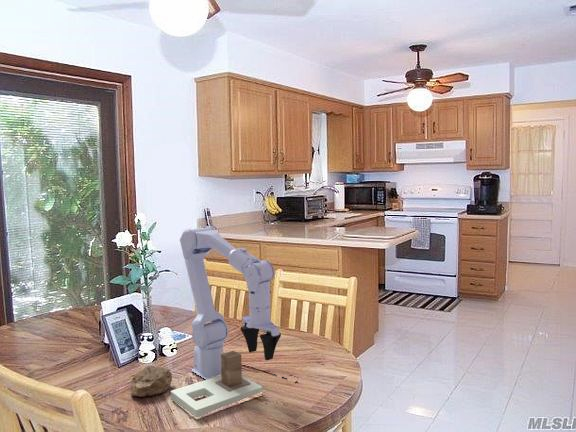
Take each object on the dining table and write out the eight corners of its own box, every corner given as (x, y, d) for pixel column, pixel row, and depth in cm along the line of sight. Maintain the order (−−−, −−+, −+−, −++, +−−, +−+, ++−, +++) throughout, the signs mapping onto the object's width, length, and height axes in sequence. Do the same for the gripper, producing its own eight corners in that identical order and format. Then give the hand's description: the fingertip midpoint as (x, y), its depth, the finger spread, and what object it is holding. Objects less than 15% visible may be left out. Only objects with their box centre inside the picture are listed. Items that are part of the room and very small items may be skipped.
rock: (153, 404, 126) (152, 385, 125) (119, 397, 130) (119, 379, 129) (181, 383, 138) (181, 366, 138) (150, 378, 142) (149, 362, 142)
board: (170, 400, 128) (170, 389, 127) (234, 379, 140) (234, 370, 140) (196, 420, 117) (196, 409, 117) (262, 395, 129) (262, 385, 129)
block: (221, 382, 132) (220, 354, 131) (233, 378, 134) (233, 350, 133) (229, 387, 128) (228, 358, 128) (241, 383, 131) (241, 354, 130)
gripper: (232, 303, 133) (233, 351, 134) (263, 314, 122) (264, 366, 123) (253, 299, 137) (254, 345, 138) (285, 309, 126) (286, 360, 127)
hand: (260, 355), depth 131 cm, fingers open, 7 cm apart
